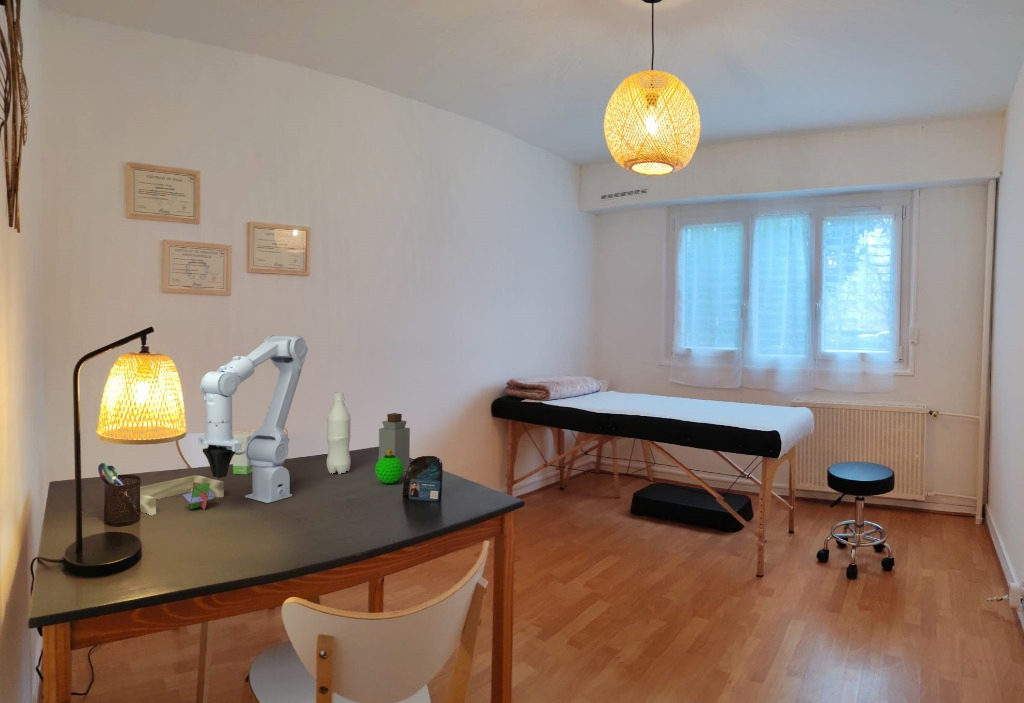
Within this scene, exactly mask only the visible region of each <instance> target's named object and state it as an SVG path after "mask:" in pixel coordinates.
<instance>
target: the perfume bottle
mask: <svg viewBox="0 0 1024 703" xmlns="http://www.w3.org/2000/svg"><path fill="white" fill-rule="evenodd" d="M386 416H387V420H383V421H382V426H383V427H380V428H379V429H378V461H379V460H380V459H381V458H382V457H384V456H385V455H387V449H392V455H394V456H395V457H397V458H398V459H400V460H401V462H402V464H403V469H405V470H406V469H407V467H408V466H409V467H410V451H411V450H410V445H411V444H410V442H411V441H410V438H411V436H410V435H411V432H410V430H411V428H410V427H406V426H407V422H408V421H407V420H402V416H403V414H402V413H397V412H393V413H387V414H386Z"/></svg>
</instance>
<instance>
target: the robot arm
mask: <svg viewBox="0 0 1024 703" xmlns="http://www.w3.org/2000/svg"><path fill="white" fill-rule="evenodd" d="M307 353H308V345H307V344H306V340H305V339H304V337H303V336H302V335H276V334H270V335H269V336H267V337H266V338H264V339H263V340H262V343H261V344H260V345H259V346H258V347H256V348H255V349H254V350H253V351H251V352H250V353H249V354H247V355H235V356H233V357H231V358H232V360H230V361H229V362H228V363H226V364H225V365H221V366H219V368H218V369H217V370H216V371H212V370H211V371H209V372H207V373H206V374H205V375H203V377H202V378H201V381H200V383H199V389H200V392H202V394H203V400H204V402H205V420H206V421H205V430H206V431H205V432H206V433H205V434H204V435H199V436H197V444H198V445H204V446H207V447H205V448H204V447H203V448H202V452H203V454H204V456H205V458H206V459H207V462H208V464H209V467H210V471H211V474H212V477H213V478H217V479H223V478H226V477H227V475H228V473H229V467H230V465H231V462H232V460H233V455H234V454H235V452H236V451H240V450H242V442H239V441H237V440H235V439H234V438H233V395H235V393H236V392H237V390H238V388H239V386H240V384H242V383H243V382H245V380H247V379H249V378H250V377H251V376H253V375H254V373H255V368H257V367H259V365H261V364H263V363H265V362H266V361H268V360H269V359H270V361H271V362H272V364H273V365H274V367H275V368H277V369H278V372H279V374H278V377H277V379H276V383H275V386H274V390H273V392H272V395H271V400H269V405H268V408H267V412H266V414H265V418H264V419H263V420H264V421H263V425H262V426H260V427H258V428H257V429H256V430H254V431H253V434H252V437H251V439H250V440H249V442H248V443H247V445H246V448H245V454H246V457H247V459H248V460H250V464H252V472H251V473H252V475H251V476H252V481H251V482H252V485H251V486H252V488H251V489H252V493H250V494H246V495H244V496H245V498H246V499H250V500H254V501H258V502H261V503H265V504H270V503H273V502H277V501H280V500H284V499H286V498H291V497H292V496H293V494H292V493H290V487H291V486H290V477H291V476H290V472H289V470H288V469H287V468H286V467H284V466H283V464H284V462H285V460H286V459H287V458H288V454H289V443H290V438H289V436H288V434H286V432H285V431H284V429H285V427H286V422H287V419H288V416H289V412H290V410H291V406H292V403H293V400H294V396H295V393H296V390H297V388H298V383H299V380H300V376H301V374H302V370H303V366H304V364H305V363H304V362H305V361H306V357H307Z"/></svg>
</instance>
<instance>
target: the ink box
mask: <svg viewBox="0 0 1024 703" xmlns="http://www.w3.org/2000/svg"><path fill="white" fill-rule="evenodd" d="M253 432H254V431H253V430H246V431H243V432H240V433H237V434H234V435H232V438H234V439H235V440H237V441H239V442H242V450H240V451H236V452H235V454H234V455H233V457H232V474H233V475H249V474H251V473H252V464H250V460H248V459H247V457H246V454H245V448H246V445H247V443H248V442H249V440H250V439H251V437H252V434H253Z"/></svg>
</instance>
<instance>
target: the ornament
mask: <svg viewBox="0 0 1024 703" xmlns="http://www.w3.org/2000/svg"><path fill="white" fill-rule="evenodd" d="M374 469H375V474H376V475H375V476H376V477H377V478H378V480H379V481H381V482H382V483H384V484H388V483H389V484H394V483H396V482H398V480H400V478H401V477H402V476H403V473H404V472H403V464H402V462H401V460H400V459H398V458H397V457H395V456H394V455H392V449H387V455H385V456H384V457H382V458H381V459H380V460H379V459H378V460H377V463H376V464H375V468H374ZM394 481H395V482H394Z"/></svg>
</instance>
